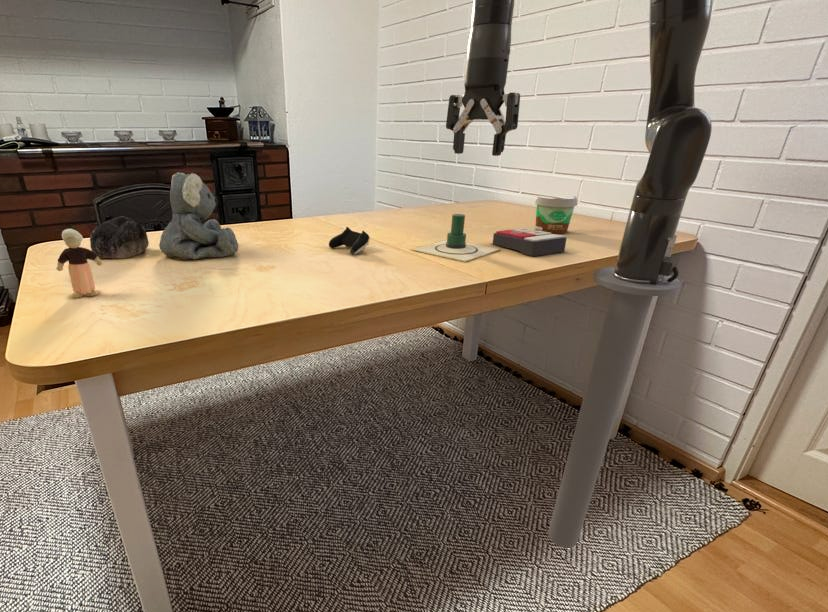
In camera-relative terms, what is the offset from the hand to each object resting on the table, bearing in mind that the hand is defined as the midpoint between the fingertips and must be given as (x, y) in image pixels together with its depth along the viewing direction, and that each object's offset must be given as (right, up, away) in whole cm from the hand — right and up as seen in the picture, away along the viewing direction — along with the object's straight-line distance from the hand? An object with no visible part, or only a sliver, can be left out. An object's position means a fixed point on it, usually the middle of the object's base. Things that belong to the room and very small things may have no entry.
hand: (477, 154), depth 92 cm
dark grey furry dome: (-84, -13, +28) cm, 89 cm away
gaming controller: (-25, -12, +30) cm, 41 cm away
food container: (+36, -3, +47) cm, 59 cm away
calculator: (+21, -11, +31) cm, 39 cm away
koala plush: (-64, -13, +27) cm, 71 cm away
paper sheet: (+2, -12, +29) cm, 32 cm away
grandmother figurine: (-76, -28, -1) cm, 81 cm away
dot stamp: (+3, -11, +31) cm, 33 cm away
